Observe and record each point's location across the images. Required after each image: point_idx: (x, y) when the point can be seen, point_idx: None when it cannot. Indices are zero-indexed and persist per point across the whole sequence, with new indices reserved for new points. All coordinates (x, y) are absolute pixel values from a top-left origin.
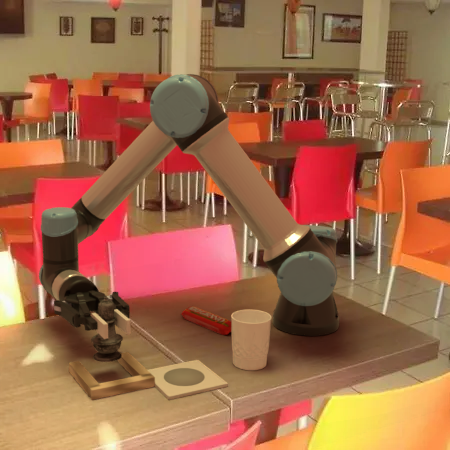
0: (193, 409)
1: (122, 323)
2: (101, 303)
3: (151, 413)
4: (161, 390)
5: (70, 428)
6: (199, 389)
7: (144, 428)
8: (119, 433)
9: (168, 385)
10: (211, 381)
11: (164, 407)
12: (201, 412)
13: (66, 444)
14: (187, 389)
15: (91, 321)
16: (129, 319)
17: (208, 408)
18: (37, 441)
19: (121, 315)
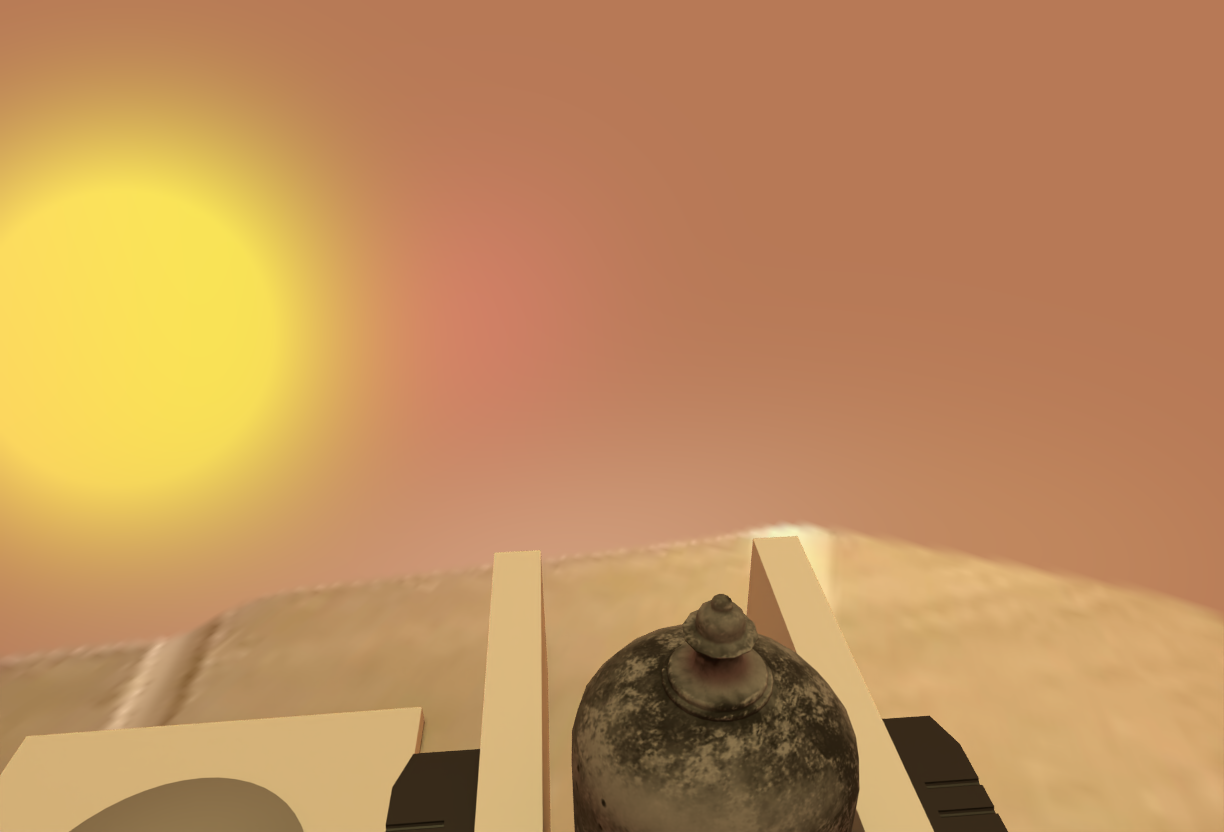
0: (377, 621)
1: (545, 694)
2: (808, 670)
3: (568, 644)
4: None
5: (959, 641)
6: (220, 725)
7: (641, 567)
8: (747, 565)
9: (335, 824)
10: (73, 785)
11: (485, 669)
12: (364, 595)
13: (960, 560)
14: (274, 746)
15: (945, 760)
16: (495, 566)
17: (314, 611)
18: (1092, 600)
19: (527, 680)
